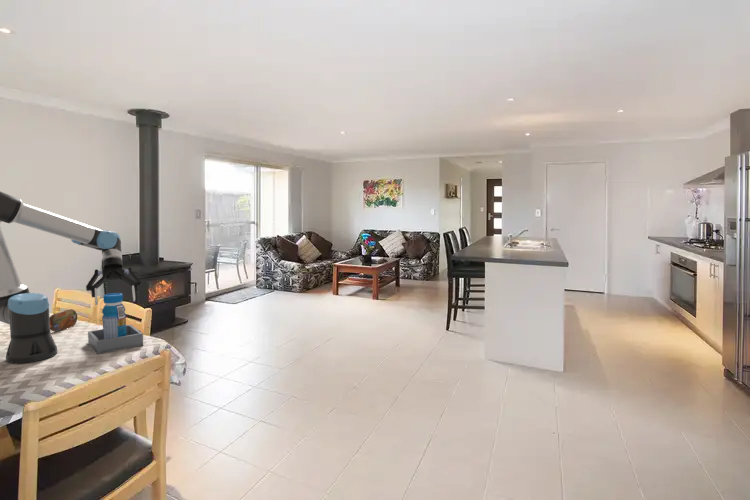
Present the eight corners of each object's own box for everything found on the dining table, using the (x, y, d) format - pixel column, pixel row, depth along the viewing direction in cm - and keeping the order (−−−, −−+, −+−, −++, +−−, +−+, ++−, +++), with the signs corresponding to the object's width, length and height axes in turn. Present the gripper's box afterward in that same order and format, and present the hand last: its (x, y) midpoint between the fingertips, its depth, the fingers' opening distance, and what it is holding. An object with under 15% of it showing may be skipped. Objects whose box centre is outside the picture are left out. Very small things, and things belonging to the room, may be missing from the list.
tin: (54, 333, 189) (53, 315, 188) (47, 333, 189) (46, 315, 188) (78, 324, 204) (77, 307, 203) (72, 324, 204) (71, 307, 203)
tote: (143, 345, 174) (142, 333, 173) (97, 354, 163) (97, 341, 162) (131, 335, 187) (130, 324, 186) (88, 343, 176) (87, 331, 175)
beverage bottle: (103, 346, 169) (101, 297, 167) (103, 340, 176) (100, 293, 174) (128, 342, 174) (125, 295, 172) (126, 337, 181) (124, 291, 179)
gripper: (143, 264, 198) (148, 302, 187) (79, 268, 184) (80, 309, 173) (144, 254, 193) (149, 293, 182) (78, 257, 179) (79, 299, 168)
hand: (115, 301), depth 177 cm, fingers open, 13 cm apart
